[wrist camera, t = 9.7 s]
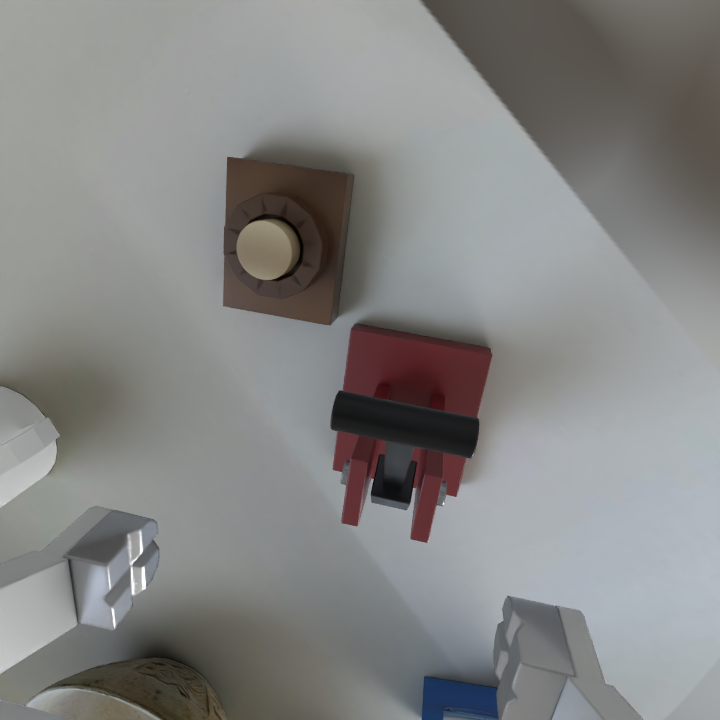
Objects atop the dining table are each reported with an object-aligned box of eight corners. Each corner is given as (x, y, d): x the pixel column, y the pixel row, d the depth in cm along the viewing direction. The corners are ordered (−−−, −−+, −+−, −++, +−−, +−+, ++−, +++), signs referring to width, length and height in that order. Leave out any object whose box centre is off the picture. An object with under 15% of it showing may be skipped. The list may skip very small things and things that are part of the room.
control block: (240, 158, 33) (214, 155, 29) (354, 174, 32) (341, 173, 28) (235, 299, 37) (211, 312, 33) (337, 317, 36) (324, 333, 32)
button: (248, 214, 31) (237, 216, 29) (302, 223, 30) (294, 225, 28) (246, 270, 32) (235, 275, 30) (298, 279, 31) (289, 284, 30)
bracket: (354, 323, 36) (312, 385, 25) (490, 347, 34) (508, 424, 24) (336, 460, 40) (293, 564, 29) (456, 486, 39) (458, 604, 28)
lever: (341, 372, 17) (325, 436, 16) (483, 399, 16) (474, 468, 16) (356, 458, 30) (348, 497, 29) (436, 475, 29) (430, 515, 28)
